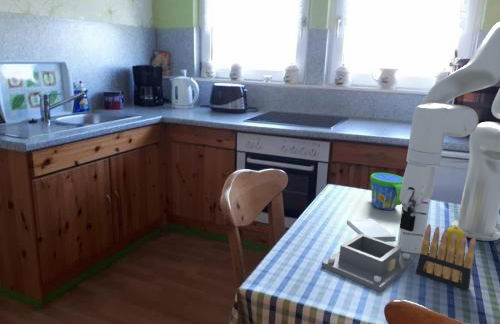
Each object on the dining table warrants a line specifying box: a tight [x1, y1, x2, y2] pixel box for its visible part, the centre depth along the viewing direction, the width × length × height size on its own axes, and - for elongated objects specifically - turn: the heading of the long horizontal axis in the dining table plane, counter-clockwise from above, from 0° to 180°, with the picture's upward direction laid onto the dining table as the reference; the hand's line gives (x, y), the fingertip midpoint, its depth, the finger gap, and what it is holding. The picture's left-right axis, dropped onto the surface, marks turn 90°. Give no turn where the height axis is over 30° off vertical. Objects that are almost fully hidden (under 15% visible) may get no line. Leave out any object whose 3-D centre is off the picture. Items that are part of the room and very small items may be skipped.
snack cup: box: [369, 172, 404, 211], centre depth 133 cm, size 16×10×10 cm
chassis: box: [321, 234, 415, 293], centre depth 95 cm, size 18×14×5 cm
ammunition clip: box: [415, 223, 477, 292], centre depth 89 cm, size 11×2×12 cm, turn 53°
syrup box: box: [397, 196, 431, 255], centre depth 103 cm, size 6×6×14 cm
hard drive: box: [346, 218, 397, 242], centre depth 115 cm, size 2×8×12 cm
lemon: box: [440, 226, 464, 256], centre depth 101 cm, size 6×6×8 cm
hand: (412, 224), depth 103 cm, fingers closed on syrup box, 7 cm apart
